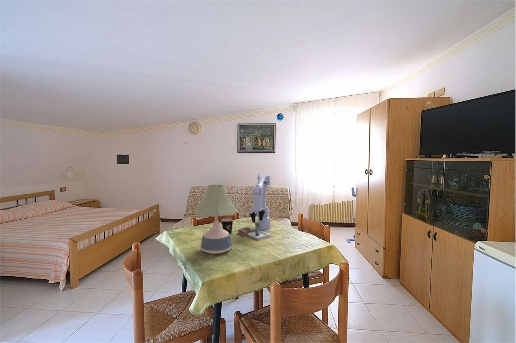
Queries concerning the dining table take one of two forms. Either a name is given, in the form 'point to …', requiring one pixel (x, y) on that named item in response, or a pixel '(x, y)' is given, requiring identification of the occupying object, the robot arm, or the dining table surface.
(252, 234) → the tray
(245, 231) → the hitch block
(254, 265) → the dining table surface
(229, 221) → the coffee mug
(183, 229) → the dining table surface
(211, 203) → the desk lamp
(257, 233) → the pin
